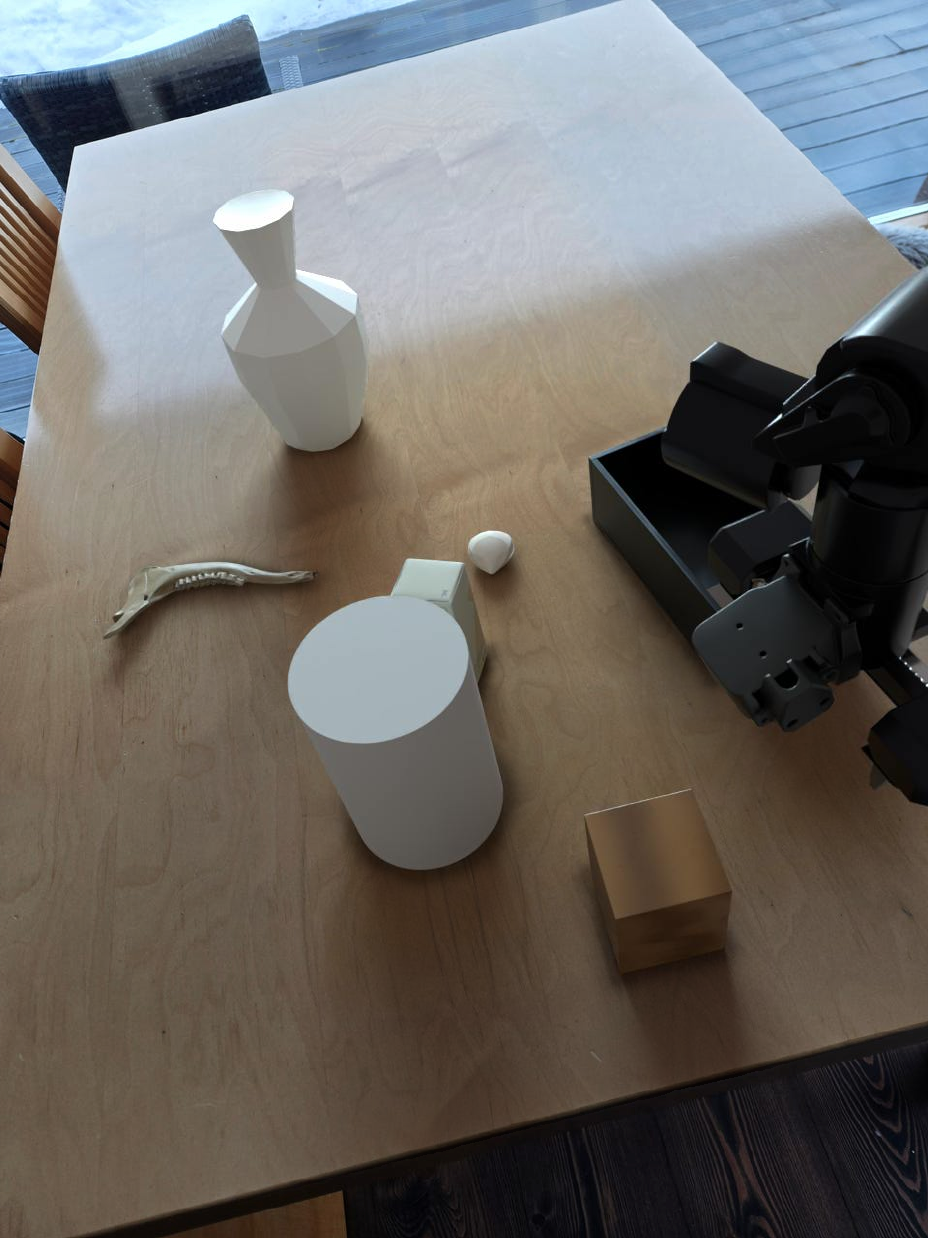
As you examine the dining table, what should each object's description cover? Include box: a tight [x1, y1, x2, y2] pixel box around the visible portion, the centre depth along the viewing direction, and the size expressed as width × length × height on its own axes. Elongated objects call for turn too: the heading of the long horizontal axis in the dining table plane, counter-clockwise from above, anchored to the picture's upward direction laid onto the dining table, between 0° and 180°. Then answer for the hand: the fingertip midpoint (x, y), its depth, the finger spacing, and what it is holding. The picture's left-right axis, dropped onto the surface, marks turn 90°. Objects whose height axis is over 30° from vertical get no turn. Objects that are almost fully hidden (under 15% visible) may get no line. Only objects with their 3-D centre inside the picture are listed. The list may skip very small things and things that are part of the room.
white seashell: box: [467, 530, 515, 575], centre depth 85 cm, size 4×5×2 cm
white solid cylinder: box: [287, 595, 504, 871], centre depth 65 cm, size 12×12×17 cm
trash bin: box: [587, 425, 789, 661], centre depth 79 cm, size 21×11×8 cm, turn 23°
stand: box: [583, 788, 733, 975], centre depth 60 cm, size 7×7×9 cm
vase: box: [212, 188, 370, 453], centre depth 94 cm, size 14×14×25 cm
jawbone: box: [102, 561, 320, 640], centre depth 90 cm, size 9×20×2 cm, turn 107°
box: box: [389, 558, 489, 684], centre depth 75 cm, size 5×4×11 cm
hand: (828, 724), depth 55 cm, fingers open, 9 cm apart
